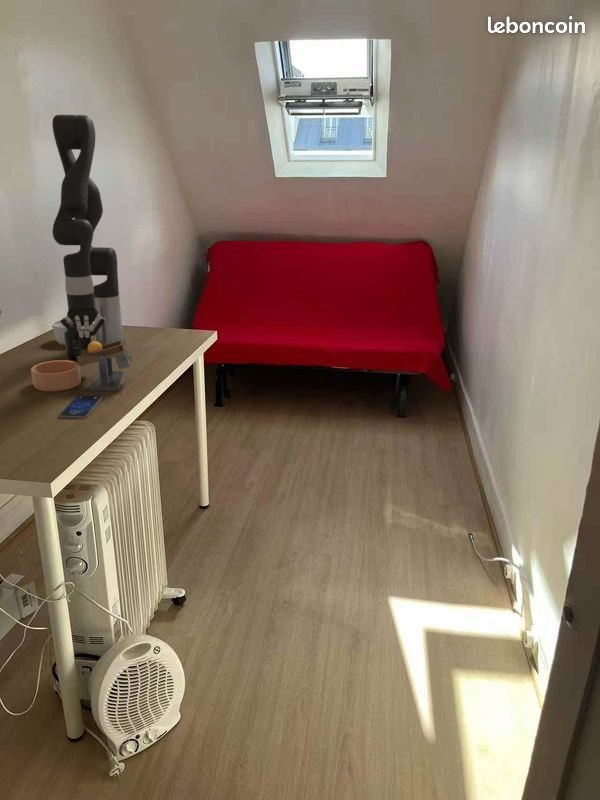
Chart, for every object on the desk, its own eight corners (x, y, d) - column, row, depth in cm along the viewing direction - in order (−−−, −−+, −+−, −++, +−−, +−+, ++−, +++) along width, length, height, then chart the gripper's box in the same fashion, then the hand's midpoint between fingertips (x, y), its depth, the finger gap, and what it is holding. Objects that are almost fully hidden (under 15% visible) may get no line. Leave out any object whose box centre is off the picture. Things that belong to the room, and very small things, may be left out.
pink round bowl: (40, 377, 178) (37, 360, 176) (84, 375, 180) (82, 359, 178) (28, 392, 166) (26, 374, 164) (76, 390, 168) (73, 373, 166)
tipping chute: (93, 362, 184) (85, 342, 181) (135, 351, 185) (127, 331, 182) (85, 379, 170) (76, 357, 168) (129, 366, 171) (121, 345, 168)
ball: (105, 344, 173) (99, 355, 174) (93, 337, 172) (86, 348, 173) (103, 348, 169) (96, 359, 170) (90, 340, 168) (83, 352, 169)
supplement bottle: (92, 355, 199) (88, 319, 195) (83, 361, 193) (79, 325, 188) (72, 354, 200) (68, 319, 195) (63, 360, 193) (58, 324, 189)
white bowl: (101, 340, 216) (99, 321, 213) (70, 349, 205) (68, 329, 203) (77, 334, 222) (74, 316, 220) (46, 342, 212) (43, 323, 209)
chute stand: (97, 374, 181) (94, 344, 177) (124, 374, 182) (121, 343, 179) (89, 391, 168) (85, 358, 165) (118, 390, 169) (115, 357, 166)
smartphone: (103, 395, 164) (86, 417, 150) (104, 398, 164) (86, 420, 150) (76, 394, 164) (56, 416, 150) (77, 398, 164) (56, 419, 150)
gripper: (105, 288, 177) (111, 345, 183) (59, 289, 175) (66, 346, 181) (101, 293, 170) (107, 352, 176) (53, 294, 168) (60, 353, 174)
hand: (86, 349), depth 179 cm, fingers closed
